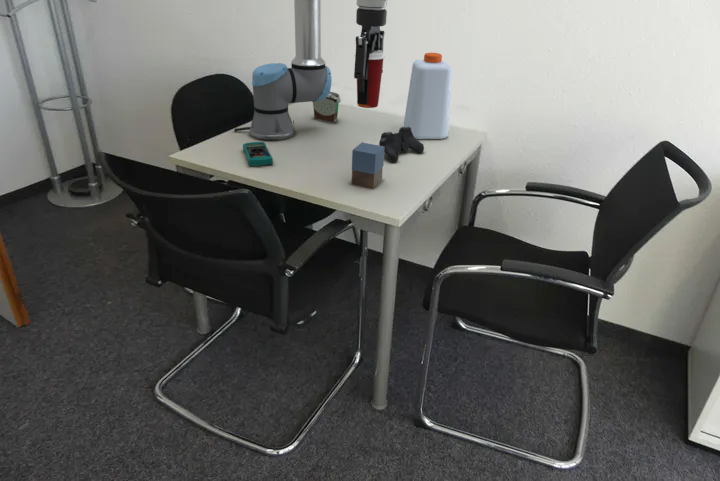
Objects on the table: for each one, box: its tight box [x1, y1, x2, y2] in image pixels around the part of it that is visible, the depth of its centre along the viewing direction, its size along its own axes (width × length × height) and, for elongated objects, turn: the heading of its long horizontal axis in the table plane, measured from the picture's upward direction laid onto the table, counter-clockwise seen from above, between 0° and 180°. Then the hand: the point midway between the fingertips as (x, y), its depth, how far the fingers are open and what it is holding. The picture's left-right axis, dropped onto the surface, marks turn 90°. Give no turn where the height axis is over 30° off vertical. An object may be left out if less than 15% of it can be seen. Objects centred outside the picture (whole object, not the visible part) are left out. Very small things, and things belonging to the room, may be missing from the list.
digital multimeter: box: [242, 141, 274, 167], centre depth 166 cm, size 7×15×3 cm, turn 18°
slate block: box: [351, 142, 385, 174], centre depth 149 cm, size 7×7×6 cm
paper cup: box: [356, 50, 386, 109], centre depth 139 cm, size 8×8×14 cm
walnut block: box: [351, 166, 384, 190], centre depth 152 cm, size 7×7×4 cm
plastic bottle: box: [402, 52, 453, 140], centre depth 186 cm, size 15×15×28 cm
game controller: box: [378, 126, 425, 163], centre depth 172 cm, size 16×7×10 cm, turn 134°
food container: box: [312, 91, 342, 125], centre depth 201 cm, size 12×6×10 cm, turn 58°
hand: (367, 100), depth 142 cm, fingers closed on paper cup, 6 cm apart
